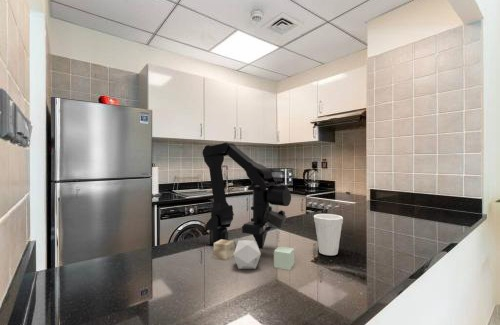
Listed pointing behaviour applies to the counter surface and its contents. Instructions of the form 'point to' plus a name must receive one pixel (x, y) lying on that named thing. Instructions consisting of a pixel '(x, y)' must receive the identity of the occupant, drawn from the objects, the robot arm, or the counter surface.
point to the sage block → (284, 258)
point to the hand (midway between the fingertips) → (261, 248)
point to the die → (247, 254)
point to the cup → (328, 232)
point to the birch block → (223, 249)
